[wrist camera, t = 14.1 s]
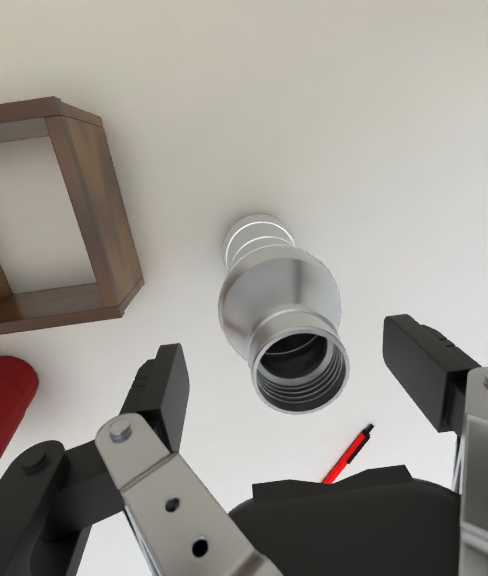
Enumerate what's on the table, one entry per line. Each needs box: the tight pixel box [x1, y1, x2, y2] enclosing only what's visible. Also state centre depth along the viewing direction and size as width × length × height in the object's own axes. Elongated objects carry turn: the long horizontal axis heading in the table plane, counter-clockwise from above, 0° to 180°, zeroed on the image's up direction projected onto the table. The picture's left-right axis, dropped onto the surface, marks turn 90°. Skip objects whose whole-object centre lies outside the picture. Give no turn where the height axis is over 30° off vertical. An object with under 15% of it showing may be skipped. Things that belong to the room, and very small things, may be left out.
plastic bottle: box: [218, 214, 350, 415], centre depth 21 cm, size 6×7×20 cm
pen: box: [323, 424, 374, 484], centre depth 41 cm, size 1×19×1 cm, turn 155°
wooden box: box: [0, 96, 144, 335], centre depth 25 cm, size 15×14×7 cm
